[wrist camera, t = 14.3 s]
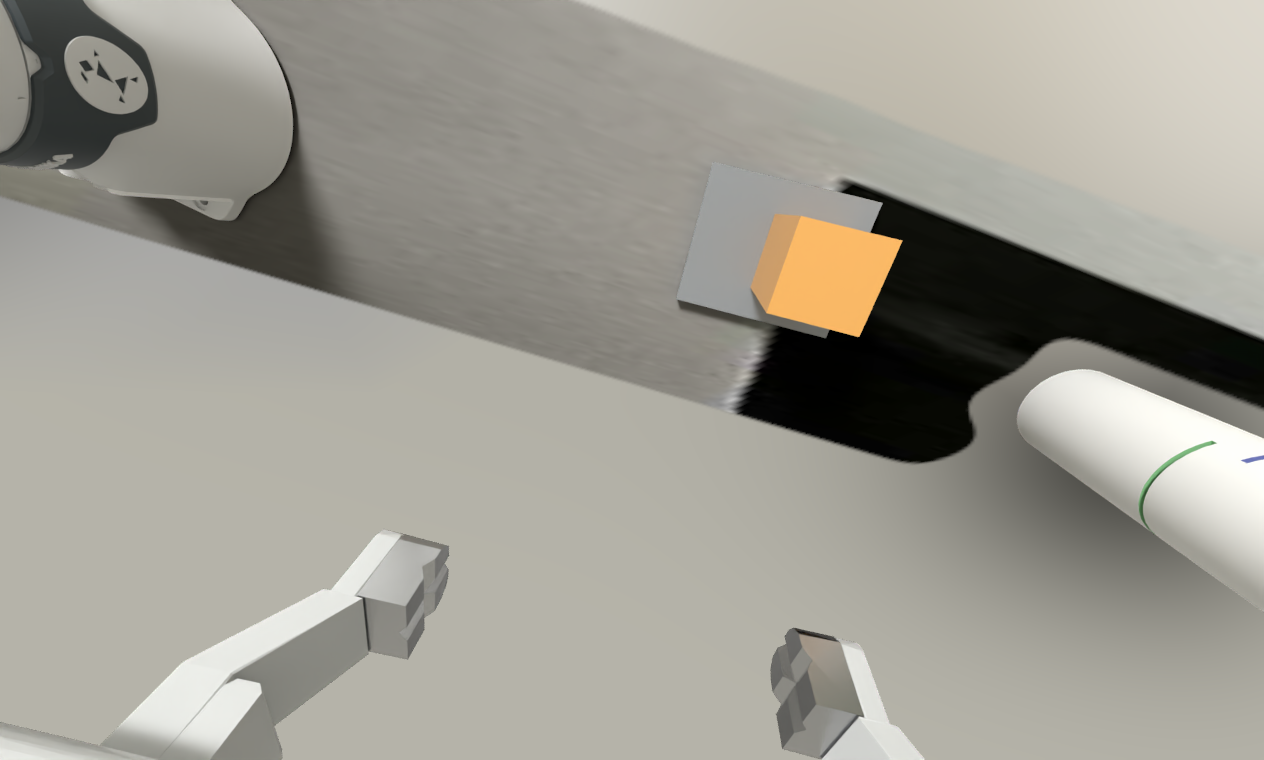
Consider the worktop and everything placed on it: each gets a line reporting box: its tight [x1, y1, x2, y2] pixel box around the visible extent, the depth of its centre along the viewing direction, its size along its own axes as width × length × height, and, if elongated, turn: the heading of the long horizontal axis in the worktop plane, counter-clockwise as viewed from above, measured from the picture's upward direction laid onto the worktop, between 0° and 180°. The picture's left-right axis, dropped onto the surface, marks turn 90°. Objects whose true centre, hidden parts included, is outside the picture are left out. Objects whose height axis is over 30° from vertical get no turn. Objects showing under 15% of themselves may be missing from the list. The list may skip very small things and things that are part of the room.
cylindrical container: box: [1017, 369, 1264, 612], centre depth 23 cm, size 7×7×25 cm
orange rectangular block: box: [750, 214, 902, 337], centre depth 29 cm, size 5×5×9 cm
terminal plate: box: [676, 162, 882, 338], centre depth 33 cm, size 12×10×1 cm
